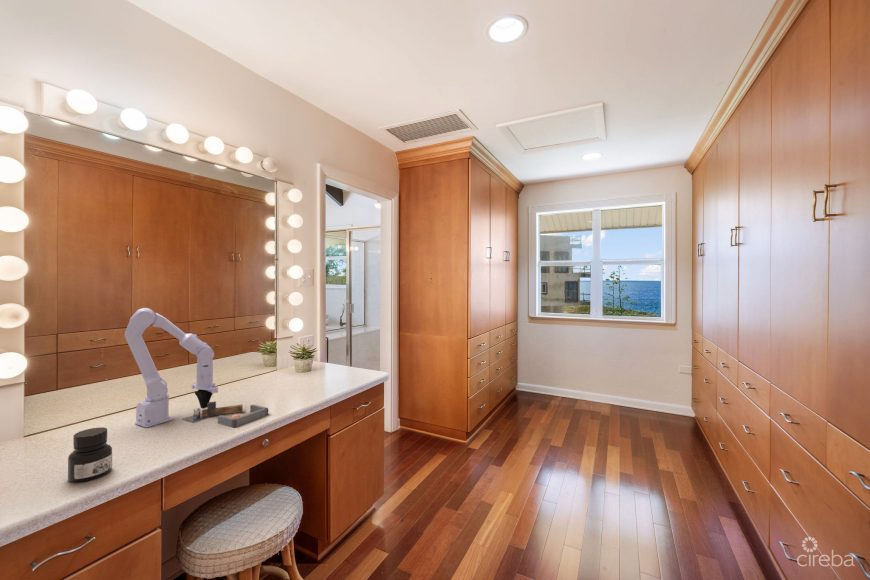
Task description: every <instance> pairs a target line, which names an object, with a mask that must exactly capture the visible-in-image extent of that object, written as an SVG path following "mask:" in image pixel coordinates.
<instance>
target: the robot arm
mask: <svg viewBox="0 0 870 580" xmlns="http://www.w3.org/2000/svg"><path fill="white" fill-rule="evenodd" d="M128 321H129V322H128V324H127V327H126V329H125V332H124V339H126V343H127V345H128V346H129V349H130V351H131V354H132V356H133V359H134V360H135V362H136V364H137V366H138V369H139V370H140V373H141V375H142V378H143V380H144V384H145V386H146V397H145V398H144V400H143V401H141V402H139V403H137V405H136V409H135V411H136V413H135V414H136V417H135V419H136V420H135V423H134V424H135V425H138V426H141V427H144V428H149V427H154V426H156V425H160V424H162V423H166V422H169V421H173V420H175V418H174V417H172V416H169V414H170V413H169V412H170V409H169V408H170V407H169V404H170V403H169V401H170V395H169V394H168V392H169V390H168V389H169V388H168V383H167V381H166V380H165V379H163V378H162V377H161V375H160V373H159V372H158V369H157V367H156V365H155V363H154V360H153V359H152V356H151V354H150V351H149V349H148V347H147V344H146V343H145V340H144V338H143V336H142V335H143V334H144V333H145V331H146V329H147V328H148V327H150V326H152V327H155V328H161V329H163V330H164V331H166V332H167V333H169V334H170V335H172V336H173V337H174V338H176V339H178V342H179V343H178V344H179V345H180V346H181V347H182V348H184V349H185V350H186V351H188V352H189V353H191V354H192V355H195V356H196V359H197V360H196V361H197V362H196V375H195V376H196V382H195V383H191V389H196V390H197V391H194V395H195V397H197V400H198V403H199V407H200V409H202V410H204V409H207V404H208V402H211V401H210V400H211V398H212V396H213V395H214V394H215V393H219V387H217V386H216V383H214V382H213V381H214V357H215V351H214V349H212V347H210V345H208V342H204V341H202V340H201V339H200V338H198V335H197V334H196V333H195V334H193V333H185V332H184V331H183V330H182V329H180V328H179V327H178V326H176V325H175V324H174V323H173V322H171V321H170V320H169V319H168V318H166V317H164V316H163V315H161V314H159V313H157V312H155V311H154V310H152V309H151V308H149V307H142V308H139V309H137V310H136V311H135V312H134V313H133V314H132V316H131V317H130V319H129V320H128Z"/></svg>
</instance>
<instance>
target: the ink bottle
mask: <svg viewBox="0 0 870 580" xmlns="http://www.w3.org/2000/svg"><path fill="white" fill-rule="evenodd" d="M72 440H73V441H72V442H73V445H72V446H73V451H72V452H70V454H69V455H68V457H67V479H68V481H69V482H72V483H84V482H90V481H92V480H96V479H98V478H101V477H103V476H105V475H107V474H108V473H110V472H111V471H112V469H113V447H112V446H111V444H108V443H107V442H108V429H107V427H100V426H99V427H92V428H88V429H87V428H86V429H84V430H80V431H78V432H76V433H74V434H73V439H72Z"/></svg>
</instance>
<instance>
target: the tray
mask: <svg viewBox="0 0 870 580" xmlns="http://www.w3.org/2000/svg"><path fill="white" fill-rule="evenodd" d="M266 416H269V408H268V407H265V406H260V405H256V404H251V405H250V413H248V414H247V413H246V414H245V415H240V417H238V418H235V419H234V418H231V417H230V416H225V415H223V414H219V415H217V424H219V425H222V426H225V427H226V426H227V427H229V428H233V429H234V428H236V427H240V426H242V425H245V424H248V423H251V422H252V421H256V420H259V419H261V418H263V417H266Z"/></svg>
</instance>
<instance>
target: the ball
mask: <svg viewBox="0 0 870 580" xmlns="http://www.w3.org/2000/svg"><path fill="white" fill-rule="evenodd" d="M238 417H241V415H240V414H236V413H235V414H233V415H231V417H230V418H234V419H235V418H238Z"/></svg>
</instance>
